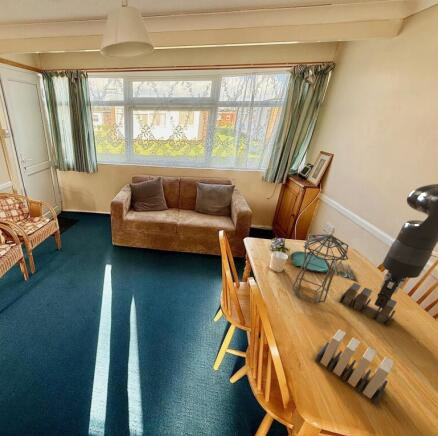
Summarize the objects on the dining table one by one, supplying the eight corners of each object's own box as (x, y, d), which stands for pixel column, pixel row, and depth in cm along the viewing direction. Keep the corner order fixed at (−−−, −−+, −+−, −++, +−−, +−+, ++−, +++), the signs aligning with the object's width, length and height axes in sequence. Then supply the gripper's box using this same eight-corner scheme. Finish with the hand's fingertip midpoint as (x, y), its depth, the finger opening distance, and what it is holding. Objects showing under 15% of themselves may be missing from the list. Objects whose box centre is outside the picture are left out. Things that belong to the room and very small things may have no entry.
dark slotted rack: (382, 391, 74) (402, 364, 68) (374, 407, 70) (395, 380, 64) (322, 350, 87) (335, 324, 81) (312, 361, 83) (325, 335, 77)
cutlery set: (290, 251, 149) (291, 248, 148) (348, 265, 135) (350, 262, 134) (289, 266, 134) (290, 263, 133) (354, 285, 119) (356, 281, 118)
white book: (346, 366, 80) (360, 341, 75) (339, 376, 77) (354, 351, 72) (339, 361, 82) (353, 337, 76) (332, 371, 79) (346, 346, 73)
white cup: (265, 266, 134) (269, 251, 130) (277, 264, 136) (281, 250, 132) (274, 274, 127) (278, 259, 123) (286, 272, 129) (291, 258, 124)
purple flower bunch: (270, 256, 153) (269, 238, 155) (289, 257, 148) (288, 239, 151) (270, 255, 143) (270, 236, 145) (291, 256, 138) (290, 236, 141)
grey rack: (391, 319, 100) (402, 302, 95) (386, 328, 96) (397, 311, 91) (343, 296, 113) (351, 280, 108) (337, 303, 108) (345, 286, 104)
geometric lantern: (326, 295, 113) (353, 233, 98) (324, 315, 102) (353, 249, 87) (290, 281, 122) (310, 223, 107) (284, 298, 111) (305, 236, 96)
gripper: (421, 273, 57) (393, 319, 64) (431, 254, 65) (405, 297, 72) (381, 259, 63) (360, 303, 70) (394, 243, 70) (373, 284, 77)
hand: (382, 300), depth 71 cm, fingers open, 8 cm apart
